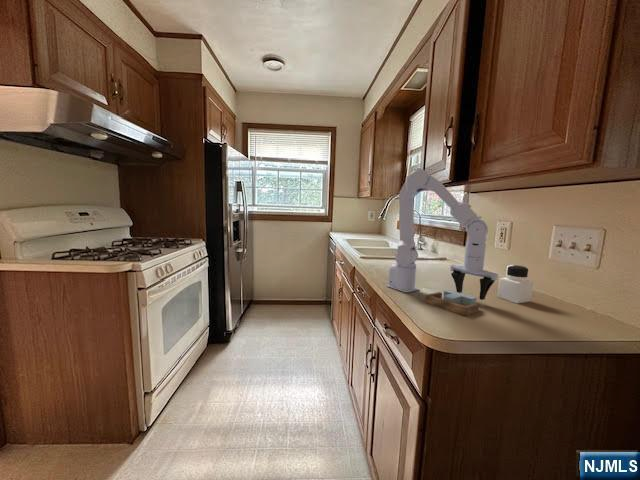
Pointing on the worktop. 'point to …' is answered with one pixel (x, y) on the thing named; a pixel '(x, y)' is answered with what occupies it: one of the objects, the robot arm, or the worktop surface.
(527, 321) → the worktop surface
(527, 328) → the worktop surface
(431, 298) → the walnut cradle
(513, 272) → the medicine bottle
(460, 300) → the t block
